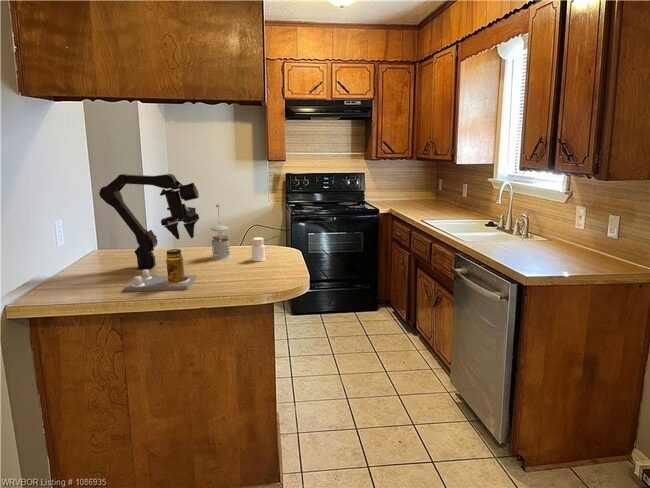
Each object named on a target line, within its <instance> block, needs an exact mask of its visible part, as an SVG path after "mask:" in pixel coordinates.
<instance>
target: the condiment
mask: <svg viewBox="0 0 650 488" xmlns="http://www.w3.org/2000/svg"><path fill="white" fill-rule="evenodd" d="M182 254H183V253H182V249H180V248H172V249H167V250H166V258H165V259H166V262H165V264H166V270H167V276H168V281H166V282H165V283H184V282H185V281H186V280H187V279H188V278H189V277H190V276H187V277H184V275H185V270H184V259H183V258H184V257H183V256H182Z"/></svg>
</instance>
